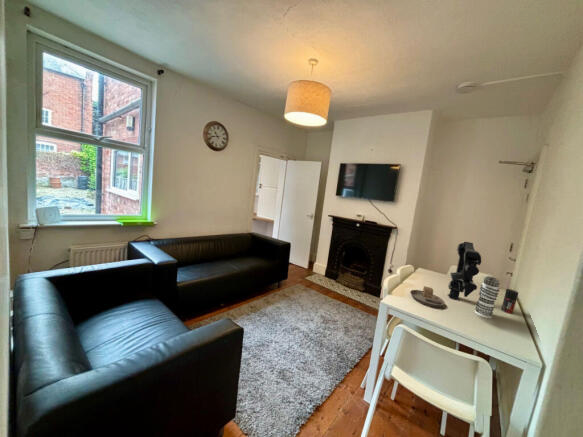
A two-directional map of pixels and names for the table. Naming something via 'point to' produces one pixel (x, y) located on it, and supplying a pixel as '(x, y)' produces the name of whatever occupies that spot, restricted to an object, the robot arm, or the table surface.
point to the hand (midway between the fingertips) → (462, 293)
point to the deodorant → (509, 301)
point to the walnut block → (427, 292)
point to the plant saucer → (426, 299)
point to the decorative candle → (487, 297)
